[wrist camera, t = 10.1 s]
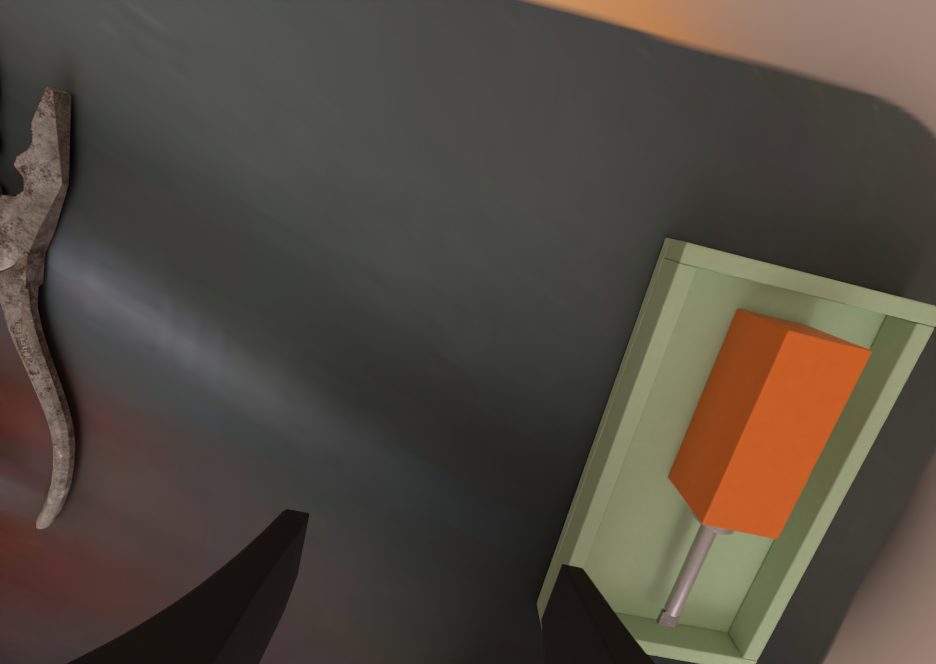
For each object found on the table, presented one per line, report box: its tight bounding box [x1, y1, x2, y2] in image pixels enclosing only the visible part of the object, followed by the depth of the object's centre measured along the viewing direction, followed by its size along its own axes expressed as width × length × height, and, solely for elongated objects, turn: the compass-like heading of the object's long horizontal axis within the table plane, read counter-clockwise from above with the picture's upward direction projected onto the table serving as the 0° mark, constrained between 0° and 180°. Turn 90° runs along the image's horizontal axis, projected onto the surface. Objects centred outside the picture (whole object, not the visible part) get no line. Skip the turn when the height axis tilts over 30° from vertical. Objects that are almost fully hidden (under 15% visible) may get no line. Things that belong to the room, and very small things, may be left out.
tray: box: [537, 238, 936, 664], centre depth 22 cm, size 20×11×2 cm, turn 166°
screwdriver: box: [656, 309, 872, 628], centre depth 21 cm, size 15×3×3 cm, turn 166°
